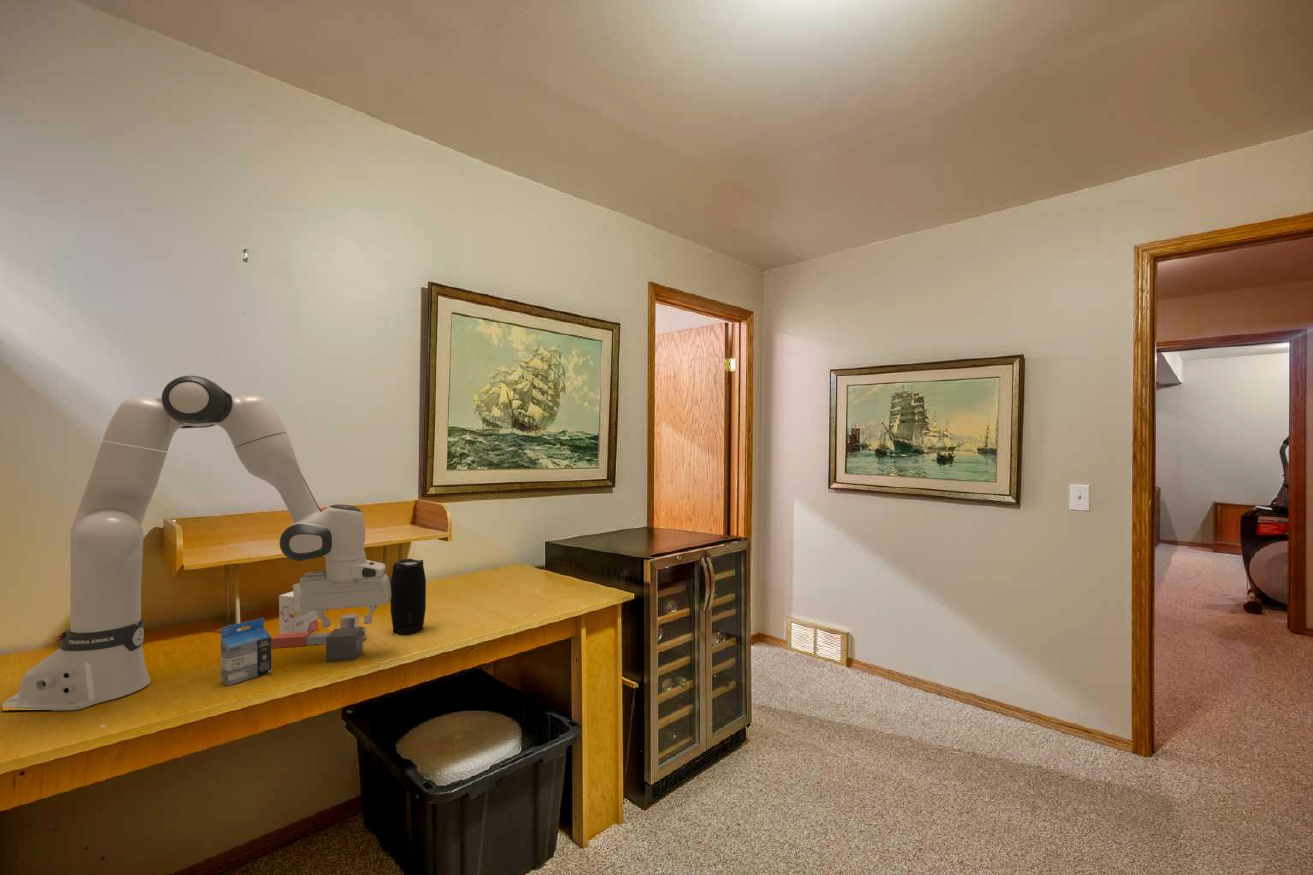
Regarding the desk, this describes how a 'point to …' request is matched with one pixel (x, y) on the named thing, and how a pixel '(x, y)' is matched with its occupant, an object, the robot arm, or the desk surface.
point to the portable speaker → (408, 596)
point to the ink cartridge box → (295, 614)
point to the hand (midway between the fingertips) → (347, 624)
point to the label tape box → (245, 652)
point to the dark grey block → (344, 644)
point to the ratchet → (313, 639)
